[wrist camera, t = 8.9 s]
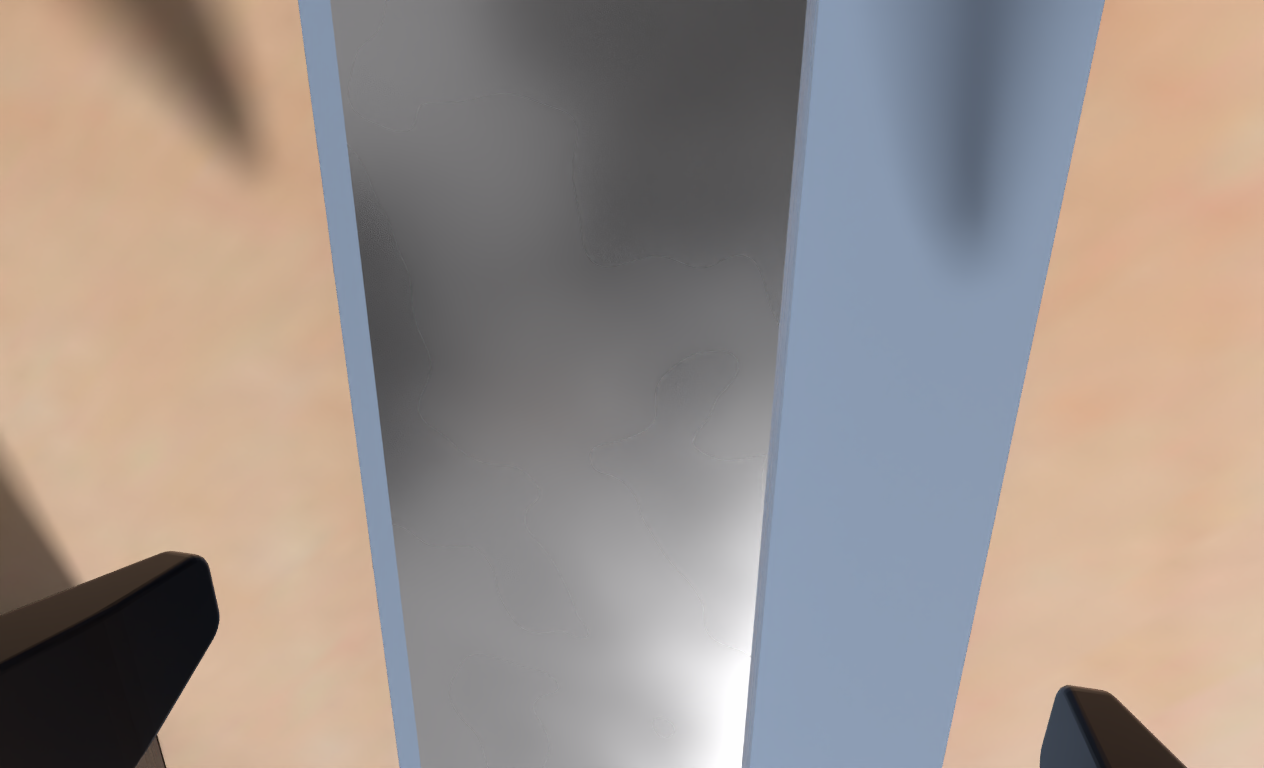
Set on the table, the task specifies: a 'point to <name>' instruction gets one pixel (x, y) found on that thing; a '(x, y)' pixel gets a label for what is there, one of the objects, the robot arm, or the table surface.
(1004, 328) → the mat
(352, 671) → the table surface
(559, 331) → the rail
